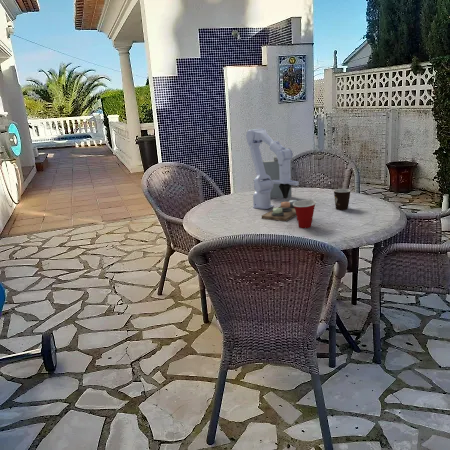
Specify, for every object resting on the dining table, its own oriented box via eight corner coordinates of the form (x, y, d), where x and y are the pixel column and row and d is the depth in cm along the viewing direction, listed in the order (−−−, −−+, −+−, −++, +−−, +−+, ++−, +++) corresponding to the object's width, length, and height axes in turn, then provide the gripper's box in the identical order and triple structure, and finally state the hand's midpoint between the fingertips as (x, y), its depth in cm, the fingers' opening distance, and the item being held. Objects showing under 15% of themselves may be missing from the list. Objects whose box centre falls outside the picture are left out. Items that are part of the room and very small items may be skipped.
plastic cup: (290, 224, 206) (290, 200, 203) (312, 222, 207) (312, 198, 204) (295, 231, 196) (295, 205, 193) (318, 229, 197) (318, 204, 193)
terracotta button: (279, 207, 225) (279, 203, 224) (283, 204, 228) (283, 201, 228) (287, 207, 222) (287, 204, 221) (291, 205, 226) (291, 202, 225)
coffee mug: (350, 210, 223) (351, 192, 220) (333, 210, 225) (334, 192, 222) (349, 205, 234) (349, 187, 231) (333, 205, 236) (333, 187, 233)
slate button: (287, 205, 232) (287, 201, 231) (291, 203, 236) (291, 199, 235) (295, 205, 229) (295, 202, 229) (299, 203, 233) (299, 200, 232)
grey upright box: (291, 195, 264) (290, 155, 257) (291, 197, 260) (290, 156, 253) (263, 196, 267) (262, 156, 260) (263, 198, 263) (261, 157, 256)
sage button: (271, 213, 218) (271, 209, 217) (275, 210, 222) (275, 207, 221) (279, 214, 215) (279, 210, 215) (283, 211, 219) (283, 208, 218)
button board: (261, 218, 220) (261, 213, 219) (285, 206, 241) (285, 201, 240) (285, 221, 212) (285, 216, 211) (308, 208, 233) (308, 204, 232)
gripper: (268, 173, 221) (269, 198, 225) (294, 174, 213) (294, 200, 217) (275, 170, 226) (276, 195, 230) (300, 172, 218) (300, 197, 222)
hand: (285, 198), depth 224 cm, fingers closed
